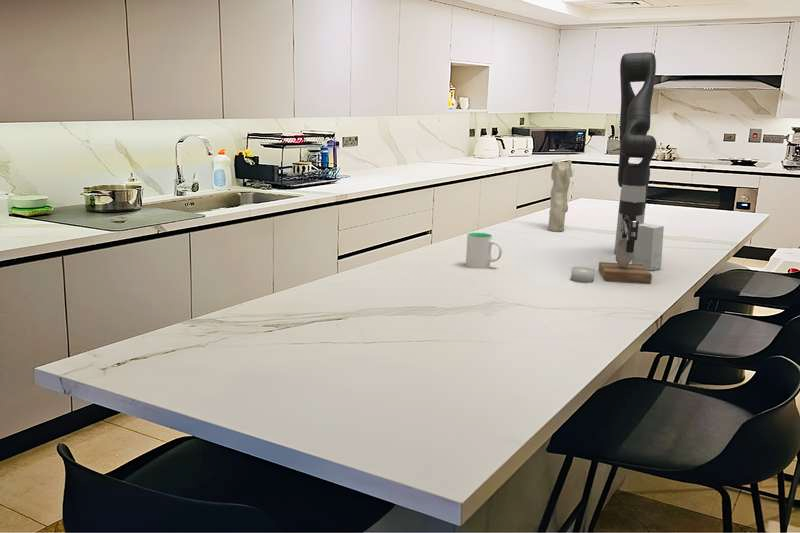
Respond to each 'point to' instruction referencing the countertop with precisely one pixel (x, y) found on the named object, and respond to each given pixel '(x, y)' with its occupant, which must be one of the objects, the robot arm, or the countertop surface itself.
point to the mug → (480, 250)
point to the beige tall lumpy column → (559, 194)
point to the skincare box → (649, 246)
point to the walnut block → (624, 273)
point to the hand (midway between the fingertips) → (627, 249)
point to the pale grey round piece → (582, 274)
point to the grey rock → (623, 253)
